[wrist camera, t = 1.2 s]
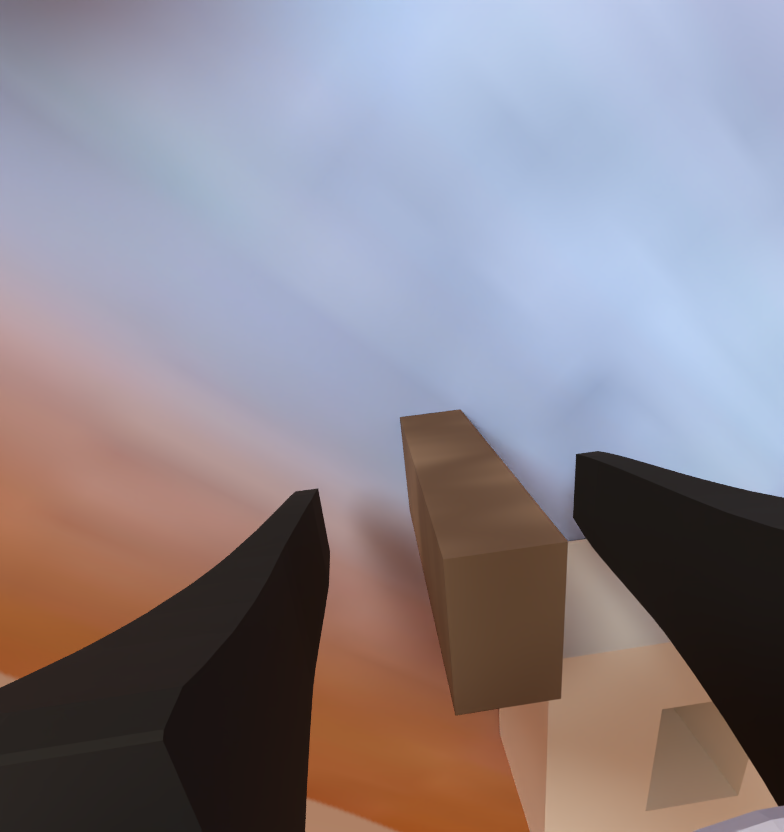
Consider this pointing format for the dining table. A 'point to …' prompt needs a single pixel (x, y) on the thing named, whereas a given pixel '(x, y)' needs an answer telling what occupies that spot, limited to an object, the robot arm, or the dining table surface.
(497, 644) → the brown rectangular block
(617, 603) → the cream square hole block
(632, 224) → the dining table surface
